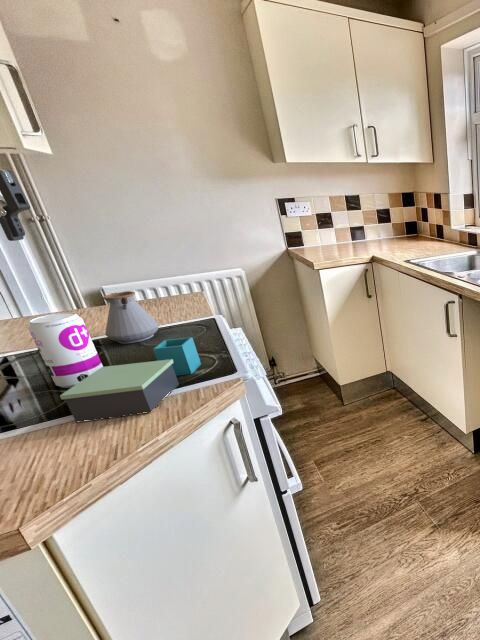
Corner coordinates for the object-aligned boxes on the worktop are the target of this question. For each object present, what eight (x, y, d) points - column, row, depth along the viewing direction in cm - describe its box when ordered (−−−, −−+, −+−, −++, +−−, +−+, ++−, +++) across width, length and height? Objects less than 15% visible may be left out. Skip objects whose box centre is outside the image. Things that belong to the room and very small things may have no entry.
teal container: (163, 377, 95) (152, 349, 93) (174, 367, 100) (164, 339, 98) (191, 373, 97) (182, 345, 94) (201, 364, 102) (192, 337, 99)
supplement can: (115, 373, 98) (90, 312, 92) (76, 390, 90) (45, 324, 84) (87, 371, 99) (60, 310, 93) (46, 388, 92) (13, 323, 86)
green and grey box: (73, 424, 78) (59, 395, 75) (113, 392, 89) (102, 366, 87) (152, 413, 81) (141, 385, 78) (181, 383, 92) (172, 359, 90)
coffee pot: (107, 339, 119) (86, 287, 113) (158, 328, 126) (140, 279, 121) (115, 360, 105) (91, 302, 99) (172, 346, 112) (152, 292, 107)
